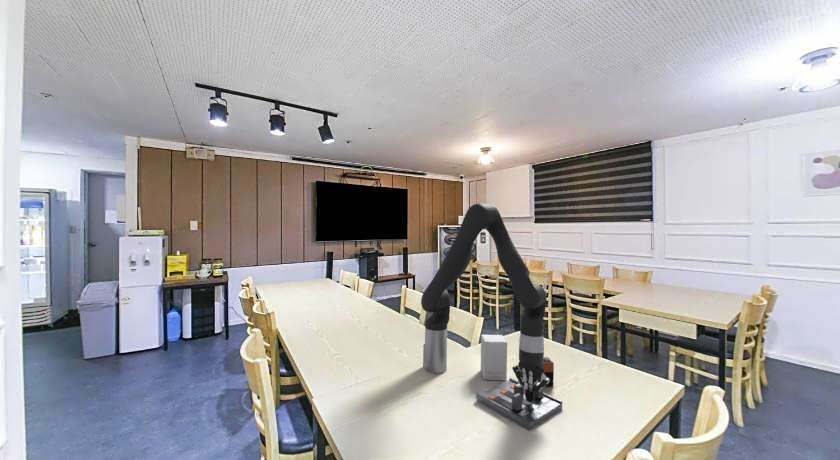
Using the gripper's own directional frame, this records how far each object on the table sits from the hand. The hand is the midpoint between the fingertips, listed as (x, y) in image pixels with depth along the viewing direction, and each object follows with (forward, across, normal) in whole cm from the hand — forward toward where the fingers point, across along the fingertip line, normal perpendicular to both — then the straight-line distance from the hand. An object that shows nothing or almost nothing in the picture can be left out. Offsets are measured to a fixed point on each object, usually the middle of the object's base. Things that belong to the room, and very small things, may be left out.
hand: (530, 401), depth 102 cm
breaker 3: (+1, -1, +6) cm, 6 cm away
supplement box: (+4, -23, +10) cm, 26 cm away
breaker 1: (+1, -4, 0) cm, 4 cm away
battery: (+3, -7, +20) cm, 21 cm away
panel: (+3, -4, 0) cm, 5 cm away
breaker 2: (+1, -1, -6) cm, 6 cm away
